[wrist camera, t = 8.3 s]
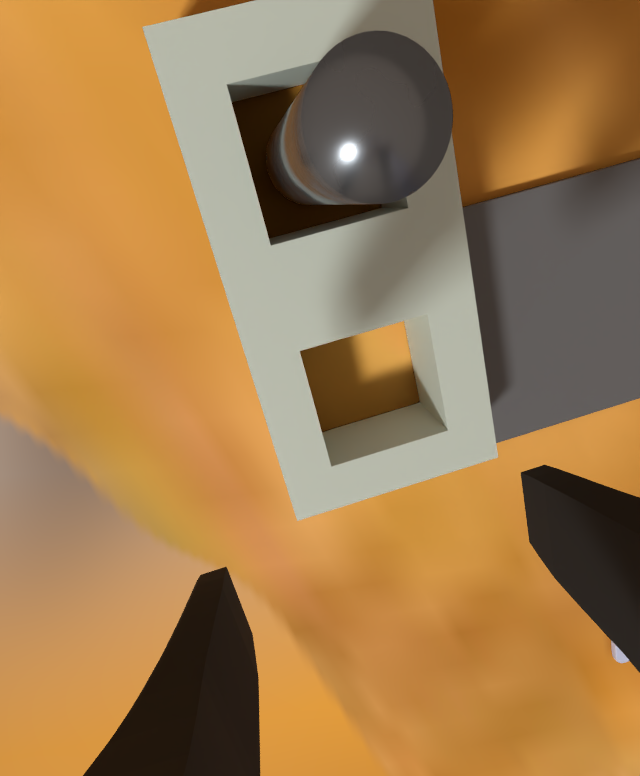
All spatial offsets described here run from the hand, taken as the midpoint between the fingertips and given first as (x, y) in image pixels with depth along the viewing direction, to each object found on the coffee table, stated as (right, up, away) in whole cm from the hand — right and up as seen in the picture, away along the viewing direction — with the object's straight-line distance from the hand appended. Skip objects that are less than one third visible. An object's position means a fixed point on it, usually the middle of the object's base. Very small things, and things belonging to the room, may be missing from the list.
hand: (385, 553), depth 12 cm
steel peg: (-2, +12, +6) cm, 13 cm away
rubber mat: (+10, +7, +10) cm, 16 cm away
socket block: (-1, +8, +8) cm, 11 cm away
